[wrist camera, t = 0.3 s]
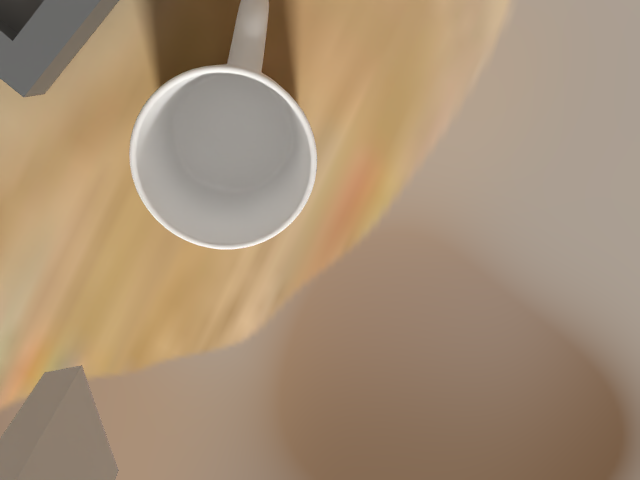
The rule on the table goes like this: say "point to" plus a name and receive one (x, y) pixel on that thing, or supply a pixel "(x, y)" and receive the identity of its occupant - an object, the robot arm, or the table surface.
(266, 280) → the table surface
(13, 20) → the gray tray
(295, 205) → the mug
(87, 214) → the table surface
